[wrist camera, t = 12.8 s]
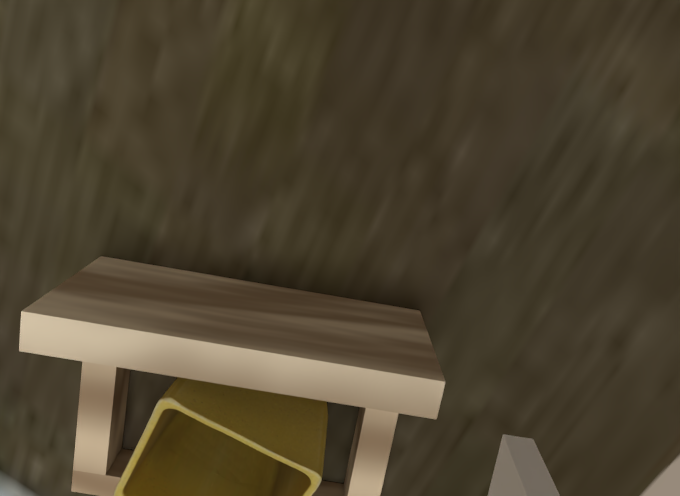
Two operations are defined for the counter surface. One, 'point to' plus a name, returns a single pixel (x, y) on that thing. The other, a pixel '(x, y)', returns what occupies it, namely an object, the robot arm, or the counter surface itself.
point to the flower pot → (228, 444)
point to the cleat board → (231, 356)
